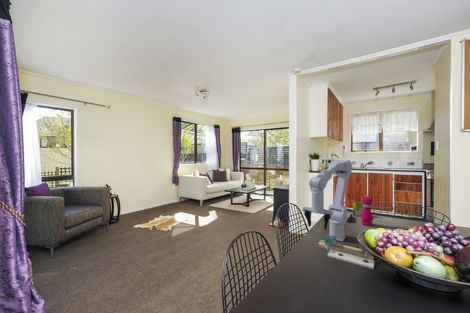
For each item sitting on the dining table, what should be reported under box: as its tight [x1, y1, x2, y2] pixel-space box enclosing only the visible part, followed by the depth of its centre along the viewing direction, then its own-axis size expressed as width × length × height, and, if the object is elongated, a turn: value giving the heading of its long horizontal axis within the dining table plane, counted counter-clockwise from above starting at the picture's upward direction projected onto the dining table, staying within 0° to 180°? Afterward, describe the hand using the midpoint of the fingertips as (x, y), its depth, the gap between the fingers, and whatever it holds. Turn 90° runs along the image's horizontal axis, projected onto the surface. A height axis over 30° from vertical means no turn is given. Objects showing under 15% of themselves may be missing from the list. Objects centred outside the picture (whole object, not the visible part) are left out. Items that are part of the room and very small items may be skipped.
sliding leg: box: [324, 234, 337, 252], centre depth 107 cm, size 10×4×4 cm, turn 144°
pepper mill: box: [360, 194, 374, 227], centre depth 142 cm, size 7×7×20 cm
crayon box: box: [352, 200, 364, 217], centre depth 163 cm, size 7×3×12 cm, turn 99°
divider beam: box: [317, 239, 375, 261], centre depth 103 cm, size 11×24×5 cm, turn 54°
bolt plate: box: [326, 249, 375, 270], centre depth 97 cm, size 7×18×1 cm, turn 54°
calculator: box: [346, 212, 353, 223], centre depth 156 cm, size 11×4×15 cm
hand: (317, 227), depth 109 cm, fingers open, 7 cm apart
